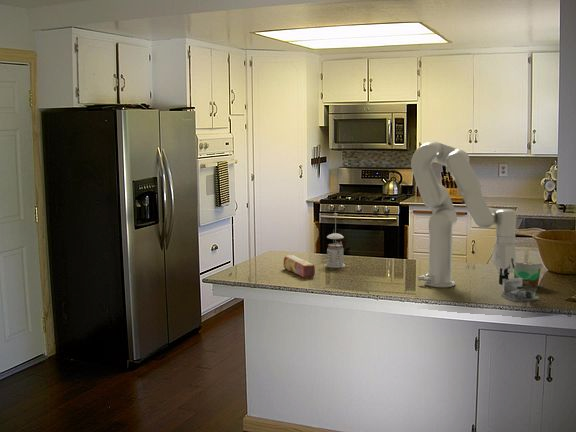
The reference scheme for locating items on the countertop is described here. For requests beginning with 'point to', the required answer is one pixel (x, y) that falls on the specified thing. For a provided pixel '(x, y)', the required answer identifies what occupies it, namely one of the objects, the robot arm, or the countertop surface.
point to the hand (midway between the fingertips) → (503, 284)
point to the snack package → (299, 266)
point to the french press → (335, 250)
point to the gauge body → (520, 296)
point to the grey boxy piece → (514, 285)
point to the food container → (528, 273)
